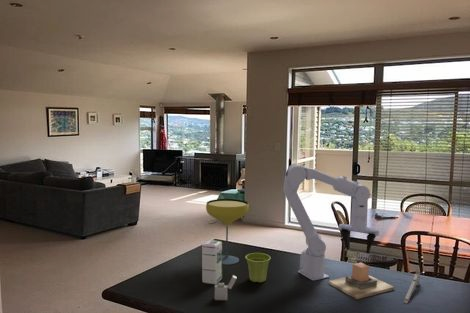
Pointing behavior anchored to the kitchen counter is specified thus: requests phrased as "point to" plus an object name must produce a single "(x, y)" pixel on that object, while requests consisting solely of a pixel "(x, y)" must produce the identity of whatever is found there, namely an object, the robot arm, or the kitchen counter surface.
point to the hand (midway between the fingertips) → (357, 250)
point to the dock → (360, 286)
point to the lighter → (223, 289)
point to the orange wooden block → (360, 272)
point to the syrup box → (212, 261)
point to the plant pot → (257, 266)
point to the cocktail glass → (227, 218)
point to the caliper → (413, 285)
